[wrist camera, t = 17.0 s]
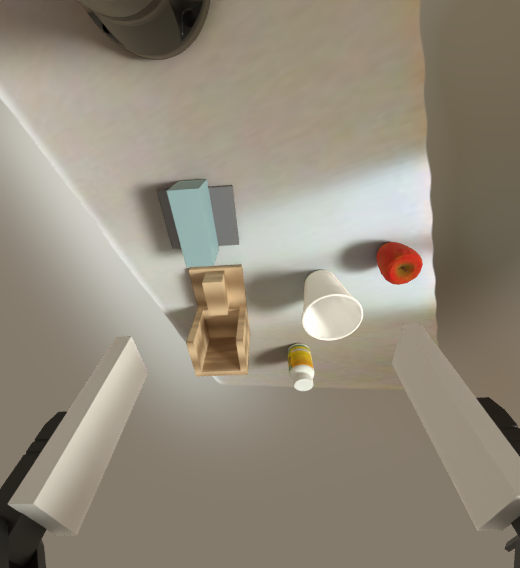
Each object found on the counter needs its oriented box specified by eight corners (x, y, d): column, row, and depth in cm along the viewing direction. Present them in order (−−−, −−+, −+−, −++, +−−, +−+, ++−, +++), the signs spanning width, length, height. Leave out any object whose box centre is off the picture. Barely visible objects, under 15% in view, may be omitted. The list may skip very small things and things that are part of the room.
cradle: (189, 267, 51) (173, 302, 41) (241, 264, 50) (237, 298, 41) (206, 335, 60) (196, 376, 51) (250, 334, 60) (247, 374, 51)
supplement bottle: (311, 356, 64) (318, 391, 56) (289, 359, 65) (292, 394, 56) (308, 340, 61) (315, 375, 53) (285, 344, 62) (288, 379, 54)
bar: (178, 181, 41) (166, 190, 36) (206, 179, 41) (199, 188, 36) (194, 250, 48) (186, 267, 43) (219, 249, 48) (213, 265, 43)
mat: (158, 190, 43) (157, 191, 42) (232, 185, 42) (231, 186, 42) (173, 246, 48) (172, 248, 48) (239, 242, 48) (238, 244, 47)
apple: (394, 269, 50) (413, 291, 44) (364, 262, 50) (379, 284, 43) (412, 239, 47) (434, 259, 41) (380, 232, 46) (398, 250, 40)
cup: (301, 307, 56) (309, 346, 46) (288, 268, 51) (294, 303, 41) (348, 295, 54) (366, 333, 45) (340, 253, 49) (359, 287, 40)
